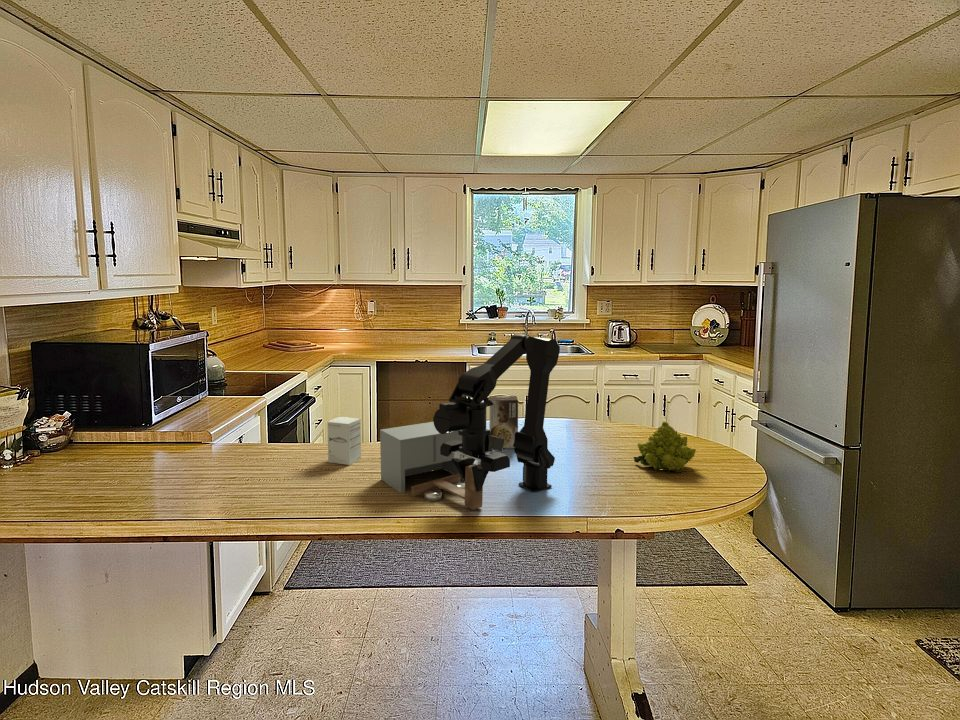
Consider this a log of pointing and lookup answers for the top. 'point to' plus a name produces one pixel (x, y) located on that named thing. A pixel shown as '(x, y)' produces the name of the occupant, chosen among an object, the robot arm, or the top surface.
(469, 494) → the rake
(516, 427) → the coffee box
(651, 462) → the vegetable
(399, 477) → the cabinet
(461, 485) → the disc right
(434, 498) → the disc left
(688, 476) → the top surface
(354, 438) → the supplement box
